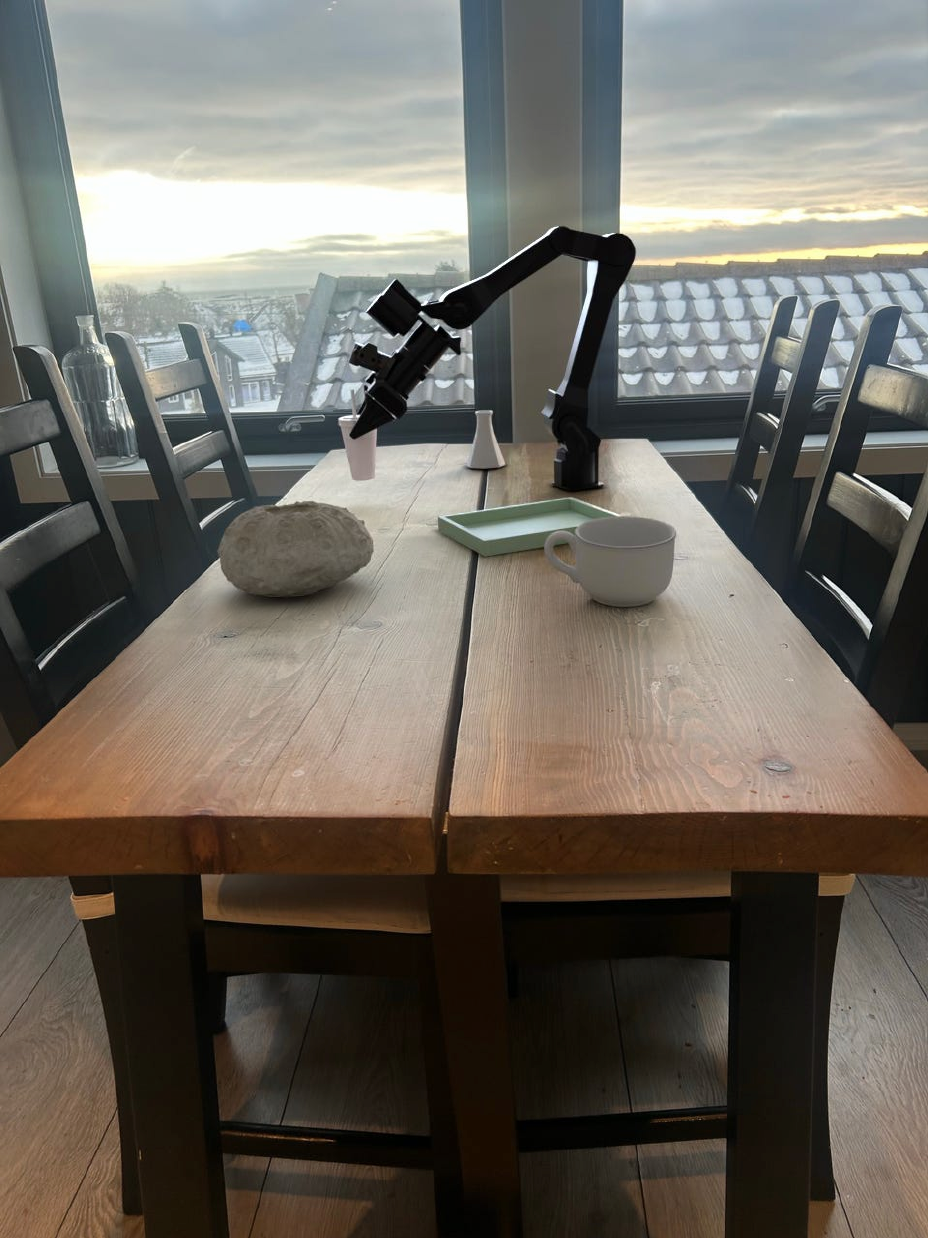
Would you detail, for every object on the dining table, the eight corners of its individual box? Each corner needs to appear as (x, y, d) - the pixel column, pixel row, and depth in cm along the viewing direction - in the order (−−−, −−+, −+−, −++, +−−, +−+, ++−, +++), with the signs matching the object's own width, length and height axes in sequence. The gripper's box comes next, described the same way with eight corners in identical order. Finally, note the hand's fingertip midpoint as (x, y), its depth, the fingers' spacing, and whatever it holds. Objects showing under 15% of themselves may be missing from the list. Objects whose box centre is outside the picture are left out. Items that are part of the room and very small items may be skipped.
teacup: (680, 587, 113) (682, 517, 110) (666, 618, 103) (668, 543, 100) (560, 579, 117) (559, 512, 114) (535, 609, 107) (534, 537, 105)
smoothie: (343, 475, 163) (334, 388, 158) (382, 472, 163) (375, 385, 159) (344, 483, 157) (335, 392, 152) (384, 480, 157) (377, 389, 153)
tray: (571, 510, 149) (571, 496, 148) (629, 533, 135) (629, 518, 135) (438, 530, 141) (437, 516, 140) (484, 556, 127) (484, 540, 127)
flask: (506, 461, 187) (505, 407, 184) (504, 469, 181) (502, 413, 177) (468, 462, 188) (466, 409, 185) (464, 470, 182) (462, 414, 178)
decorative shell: (259, 564, 128) (251, 487, 125) (393, 567, 125) (388, 488, 121) (197, 610, 112) (185, 522, 109) (348, 614, 108) (341, 524, 105)
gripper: (374, 318, 161) (312, 393, 164) (378, 324, 144) (309, 407, 146) (426, 365, 165) (364, 437, 167) (436, 377, 147) (367, 457, 150)
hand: (351, 434), depth 158 cm, fingers closed on smoothie, 6 cm apart
